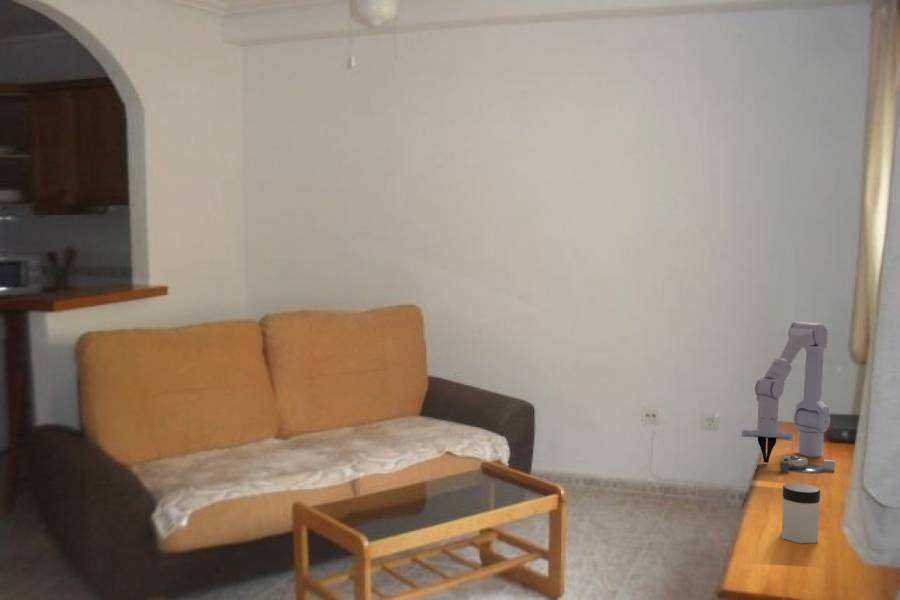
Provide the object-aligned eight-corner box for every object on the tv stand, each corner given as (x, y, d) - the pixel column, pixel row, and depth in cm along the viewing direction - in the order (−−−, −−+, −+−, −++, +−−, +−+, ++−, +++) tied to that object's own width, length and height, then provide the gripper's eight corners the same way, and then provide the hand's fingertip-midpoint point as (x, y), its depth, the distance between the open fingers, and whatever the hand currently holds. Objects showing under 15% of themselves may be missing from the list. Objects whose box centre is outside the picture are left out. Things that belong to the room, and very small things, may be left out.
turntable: (782, 463, 282) (782, 451, 282) (832, 468, 277) (833, 456, 277) (782, 473, 270) (782, 461, 270) (835, 478, 265) (836, 466, 265)
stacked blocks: (779, 474, 271) (780, 460, 270) (788, 475, 270) (789, 461, 270) (779, 477, 268) (780, 462, 268) (788, 478, 267) (789, 463, 267)
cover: (782, 463, 279) (782, 452, 279) (806, 465, 277) (807, 454, 277) (782, 468, 273) (782, 457, 273) (807, 470, 270) (808, 460, 270)
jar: (826, 539, 213) (828, 488, 212) (808, 546, 208) (810, 494, 207) (791, 529, 220) (793, 480, 219) (772, 536, 215) (774, 486, 214)
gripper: (742, 418, 275) (740, 462, 276) (793, 422, 270) (791, 467, 271) (743, 413, 282) (741, 457, 283) (793, 417, 277) (791, 461, 278)
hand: (766, 461), depth 278 cm, fingers closed
